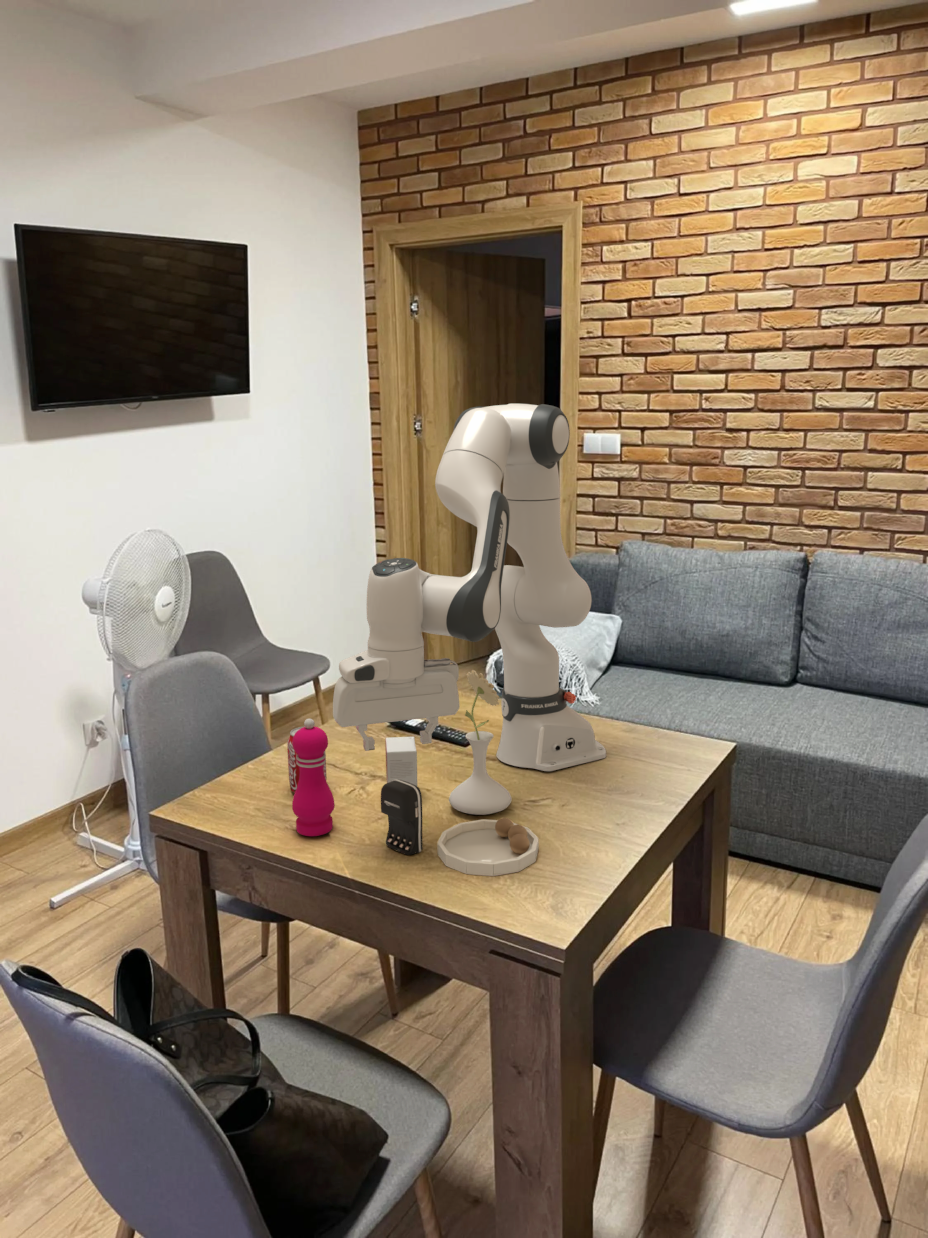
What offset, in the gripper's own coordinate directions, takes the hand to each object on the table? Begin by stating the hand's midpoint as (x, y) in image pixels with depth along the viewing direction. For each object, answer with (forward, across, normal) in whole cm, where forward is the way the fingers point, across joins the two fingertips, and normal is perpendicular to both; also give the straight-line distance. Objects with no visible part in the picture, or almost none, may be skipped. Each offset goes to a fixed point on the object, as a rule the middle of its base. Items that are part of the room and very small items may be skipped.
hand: (397, 746), depth 155 cm
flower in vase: (+18, -18, -12) cm, 28 cm away
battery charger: (+18, 0, 0) cm, 18 cm away
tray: (+18, -13, +6) cm, 23 cm away
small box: (+18, -6, -21) cm, 29 cm away
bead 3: (+17, -18, +9) cm, 26 cm away
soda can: (+18, +10, -30) cm, 37 cm away
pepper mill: (+18, +12, -13) cm, 25 cm away
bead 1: (+17, -18, +2) cm, 25 cm away
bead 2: (+17, -18, +6) cm, 26 cm away
